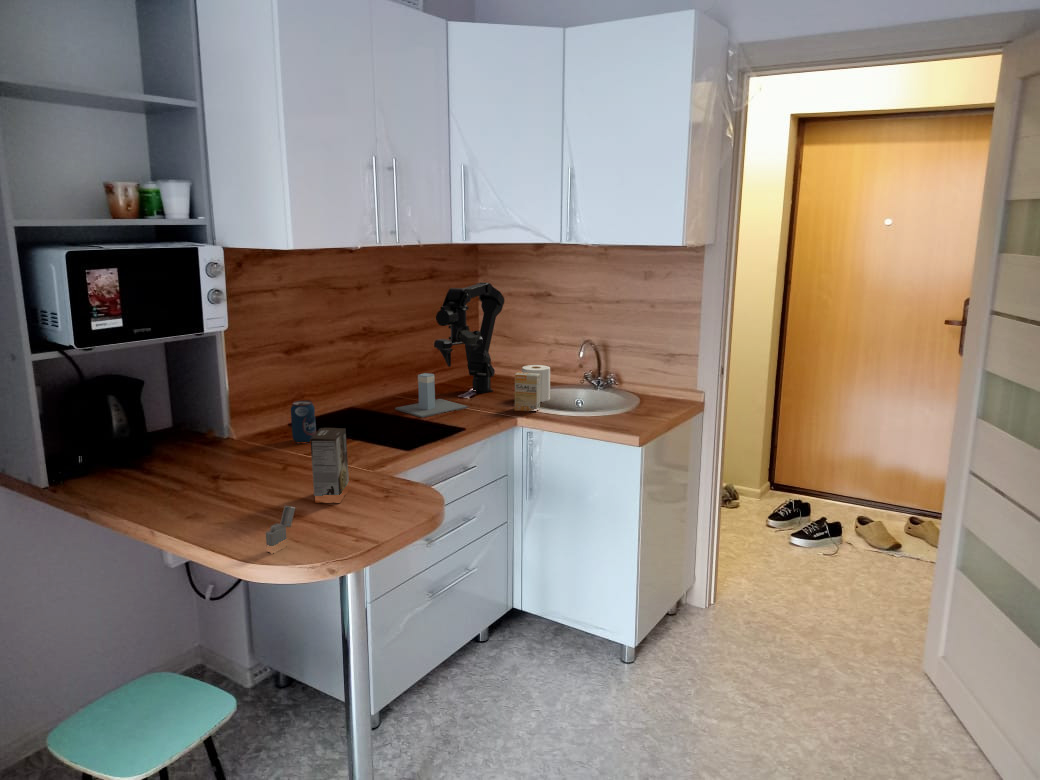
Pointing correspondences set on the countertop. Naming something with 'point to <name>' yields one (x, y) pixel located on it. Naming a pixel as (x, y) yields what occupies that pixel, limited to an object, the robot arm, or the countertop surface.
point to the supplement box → (527, 391)
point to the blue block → (426, 391)
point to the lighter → (280, 527)
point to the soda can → (303, 420)
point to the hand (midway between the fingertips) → (459, 365)
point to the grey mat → (439, 408)
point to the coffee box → (329, 461)
